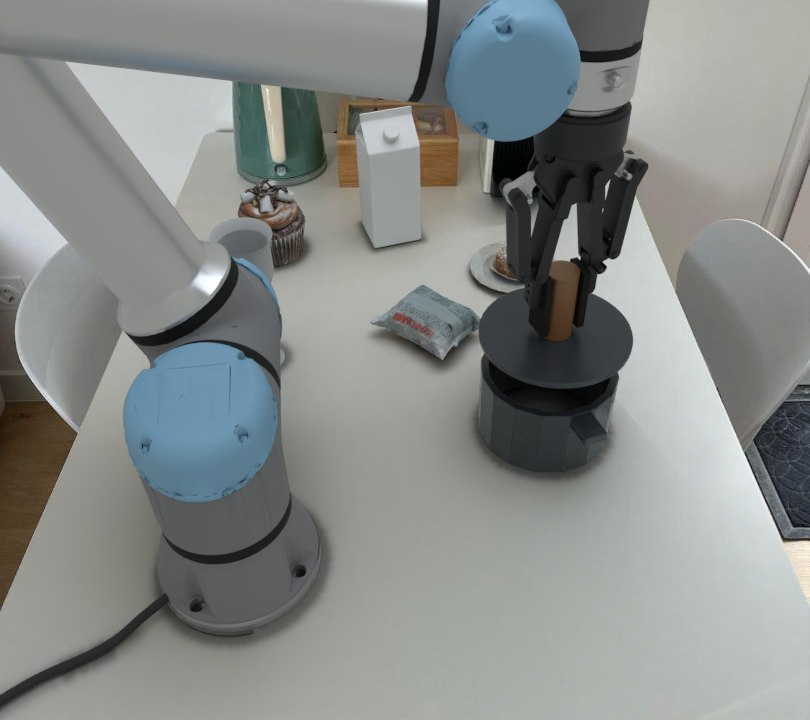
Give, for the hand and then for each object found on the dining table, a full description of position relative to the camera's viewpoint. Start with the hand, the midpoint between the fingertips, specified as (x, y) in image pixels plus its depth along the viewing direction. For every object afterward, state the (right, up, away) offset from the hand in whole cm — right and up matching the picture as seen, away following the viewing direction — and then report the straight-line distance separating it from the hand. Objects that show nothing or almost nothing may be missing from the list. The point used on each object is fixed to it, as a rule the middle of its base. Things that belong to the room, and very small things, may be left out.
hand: (555, 323), depth 80 cm
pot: (0, -11, +10) cm, 15 cm away
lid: (0, -1, +1) cm, 2 cm away
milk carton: (-17, +15, +40) cm, 46 cm away
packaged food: (-12, -1, +22) cm, 25 cm away
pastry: (0, +8, +31) cm, 33 cm away
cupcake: (-34, +12, +37) cm, 51 cm away
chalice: (-32, -4, +20) cm, 38 cm away
